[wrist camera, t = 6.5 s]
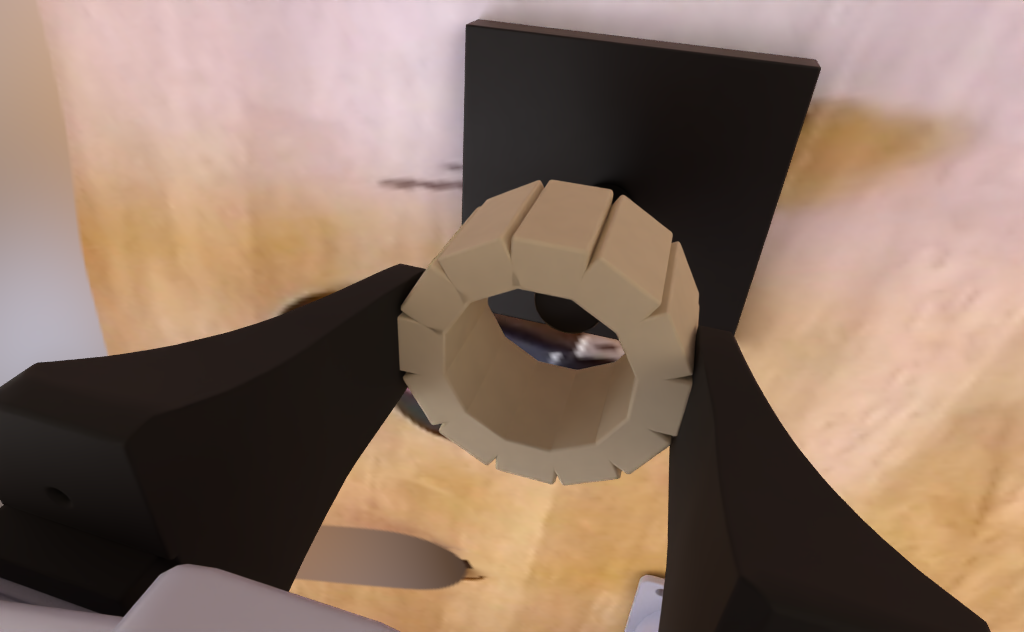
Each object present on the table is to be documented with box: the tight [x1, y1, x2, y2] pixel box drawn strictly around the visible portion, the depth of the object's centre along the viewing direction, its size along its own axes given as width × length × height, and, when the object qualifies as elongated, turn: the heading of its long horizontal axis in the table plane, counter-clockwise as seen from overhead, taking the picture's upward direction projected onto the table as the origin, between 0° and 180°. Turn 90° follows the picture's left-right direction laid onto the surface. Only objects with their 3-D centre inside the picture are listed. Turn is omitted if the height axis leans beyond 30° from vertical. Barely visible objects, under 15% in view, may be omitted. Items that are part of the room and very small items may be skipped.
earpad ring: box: [397, 180, 699, 485], centre depth 13 cm, size 6×6×3 cm
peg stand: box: [462, 19, 821, 340], centre depth 16 cm, size 9×9×6 cm
